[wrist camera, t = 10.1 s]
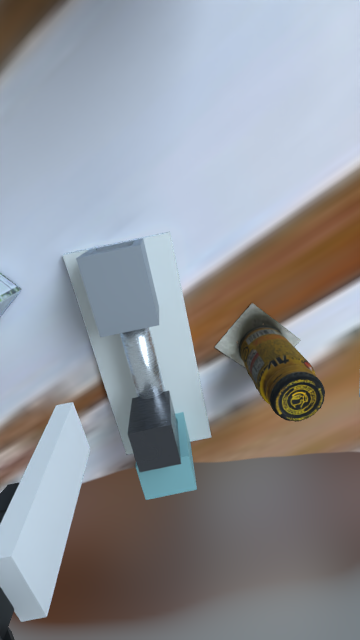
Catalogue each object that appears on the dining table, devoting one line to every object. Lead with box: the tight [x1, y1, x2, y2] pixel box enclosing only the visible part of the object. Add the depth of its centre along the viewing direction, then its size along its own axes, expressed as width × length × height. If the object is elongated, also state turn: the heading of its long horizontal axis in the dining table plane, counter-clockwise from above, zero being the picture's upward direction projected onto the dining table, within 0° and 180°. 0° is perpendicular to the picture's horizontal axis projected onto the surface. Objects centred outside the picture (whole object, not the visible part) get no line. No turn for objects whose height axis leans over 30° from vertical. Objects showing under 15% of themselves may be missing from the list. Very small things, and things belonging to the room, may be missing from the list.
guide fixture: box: [63, 232, 211, 500], centre depth 37 cm, size 28×12×9 cm, turn 11°
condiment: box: [215, 303, 325, 421], centre depth 36 cm, size 7×8×12 cm
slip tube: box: [120, 327, 181, 472], centre depth 36 cm, size 22×4×9 cm, turn 11°
